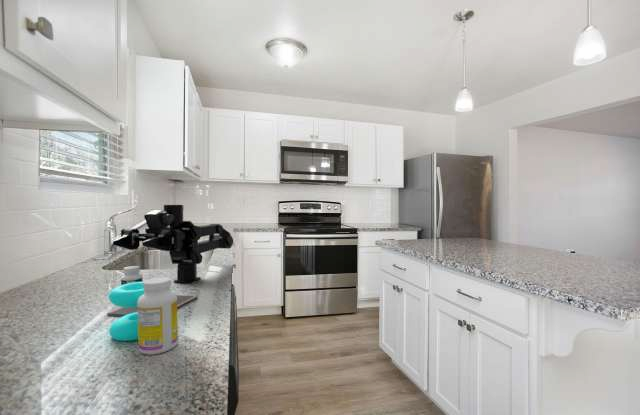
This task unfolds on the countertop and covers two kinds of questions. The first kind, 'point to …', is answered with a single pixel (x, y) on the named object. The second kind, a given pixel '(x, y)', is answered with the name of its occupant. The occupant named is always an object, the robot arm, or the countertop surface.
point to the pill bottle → (131, 275)
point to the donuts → (128, 324)
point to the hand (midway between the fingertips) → (127, 243)
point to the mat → (124, 311)
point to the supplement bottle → (157, 317)
